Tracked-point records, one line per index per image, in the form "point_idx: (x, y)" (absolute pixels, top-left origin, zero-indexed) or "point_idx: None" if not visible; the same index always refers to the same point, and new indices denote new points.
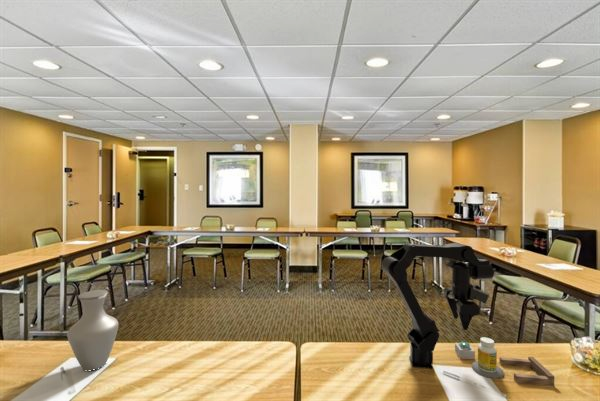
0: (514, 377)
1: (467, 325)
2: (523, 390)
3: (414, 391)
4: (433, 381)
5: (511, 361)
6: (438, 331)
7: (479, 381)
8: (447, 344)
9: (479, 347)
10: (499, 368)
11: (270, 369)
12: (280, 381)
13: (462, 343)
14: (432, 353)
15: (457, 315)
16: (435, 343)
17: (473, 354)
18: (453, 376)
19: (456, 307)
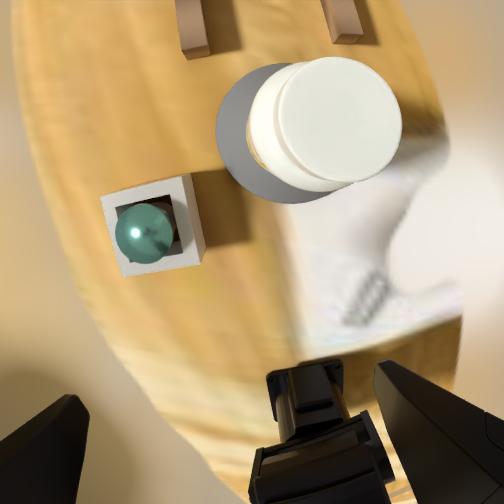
0: (341, 39)
1: (433, 396)
2: (398, 46)
3: (443, 380)
4: (409, 350)
5: (201, 7)
6: (374, 473)
7: (392, 196)
8: (89, 284)
9: (339, 187)
10: (267, 72)
11: None
12: (395, 500)
13: (142, 249)
14: (333, 396)
15: (62, 419)
16: (375, 430)
17: (186, 182)
18: (377, 292)
19: (26, 493)
